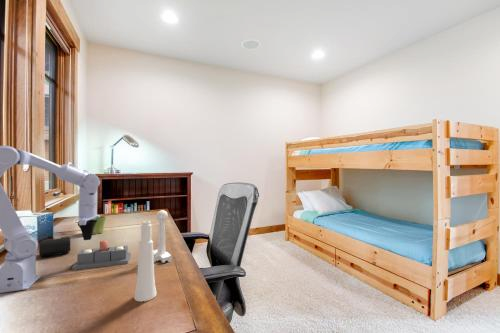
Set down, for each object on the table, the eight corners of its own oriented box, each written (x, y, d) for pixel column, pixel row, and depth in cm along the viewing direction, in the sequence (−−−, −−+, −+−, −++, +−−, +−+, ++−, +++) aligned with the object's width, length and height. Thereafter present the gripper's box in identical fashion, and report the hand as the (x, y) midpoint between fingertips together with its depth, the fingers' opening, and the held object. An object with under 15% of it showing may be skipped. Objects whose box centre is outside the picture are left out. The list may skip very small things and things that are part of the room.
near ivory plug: (90, 263, 91) (90, 251, 91) (81, 264, 90) (82, 252, 90) (92, 260, 94) (92, 249, 94) (84, 261, 93) (84, 249, 93)
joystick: (173, 260, 96) (174, 211, 96) (155, 266, 90) (156, 213, 90) (159, 253, 103) (160, 207, 103) (142, 258, 98) (143, 210, 98)
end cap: (39, 259, 95) (39, 243, 95) (41, 254, 101) (41, 238, 101) (70, 254, 101) (70, 238, 101) (70, 249, 107) (70, 234, 107)
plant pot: (88, 231, 136) (88, 216, 136) (107, 229, 140) (107, 215, 140) (84, 236, 128) (85, 219, 128) (105, 234, 132) (105, 218, 132)
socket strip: (127, 263, 92) (127, 251, 92) (72, 270, 86) (72, 256, 86) (130, 255, 101) (130, 243, 101) (80, 260, 95) (80, 248, 95)
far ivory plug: (122, 259, 95) (122, 248, 95) (114, 260, 94) (115, 249, 94) (123, 257, 97) (124, 246, 97) (116, 258, 96) (116, 246, 96)
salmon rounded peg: (107, 253, 93) (107, 242, 93) (98, 254, 92) (99, 242, 92) (108, 251, 95) (108, 240, 95) (100, 252, 94) (100, 240, 94)
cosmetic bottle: (160, 295, 70) (161, 221, 70) (139, 304, 65) (140, 224, 65) (150, 288, 74) (151, 218, 74) (130, 296, 69) (131, 221, 69)
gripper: (95, 207, 86) (94, 244, 86) (104, 201, 100) (103, 233, 100) (72, 207, 84) (71, 246, 84) (84, 202, 97) (84, 235, 97)
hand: (87, 239), depth 92 cm, fingers closed
